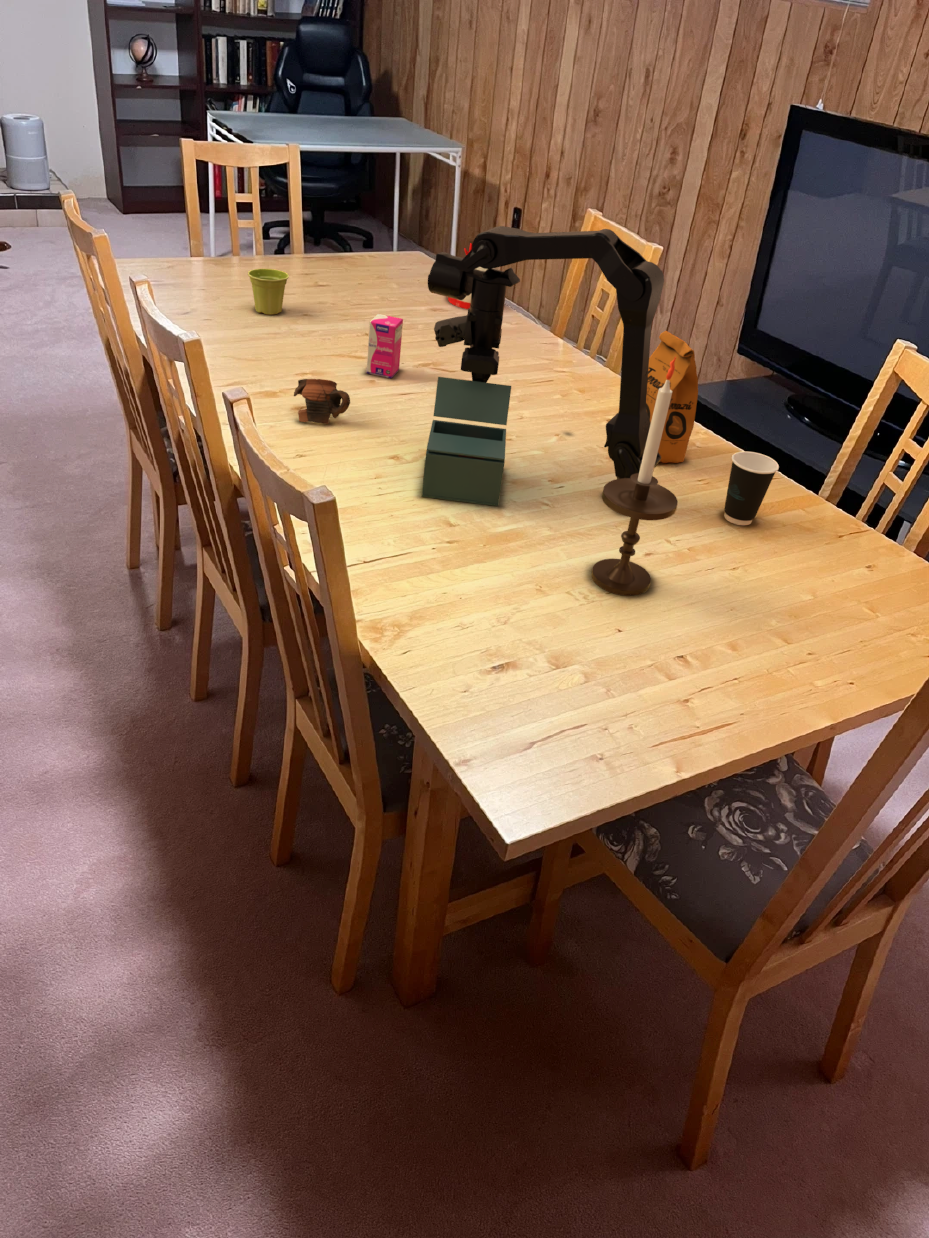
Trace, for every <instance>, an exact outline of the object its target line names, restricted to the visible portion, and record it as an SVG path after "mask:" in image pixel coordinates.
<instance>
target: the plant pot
mask: <svg viewBox="0 0 929 1238" xmlns="http://www.w3.org/2000/svg"><path fill="white" fill-rule="evenodd" d="M247 276H248V277H249V281H250V284H251V289H252V295H253V302H254V309H255V312H257V313H263V314H264V315H278V314H279V313H282V311H283V304H284V295H285V289H286V284H287V282H288V279H289V278H290V275H289V273H287V272H285V271H283V270H279V269H274V268H254V269H251V270H248V271H247Z"/></svg>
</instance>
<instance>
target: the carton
mask: <svg viewBox="0 0 929 1238" xmlns="http://www.w3.org/2000/svg"><path fill="white" fill-rule="evenodd" d="M506 439H507V428H502V427H495V426H494V427H493V426H487V425H486V426H485V425H480V424H479V425H478V424H469V423H461V422H455V421H446V420H439V419H432V422H431V427H430V431H429V436H428V440H427V445H426V451H425V458H424V467H423V477H422V478H423V480H422V487H421V489H422V490H421V497H422V498H431V499H438V500H446V501H453V502H463V503H469V504H478V505H485V506H494V507H499V503H500V498H501V497H500V496H501V490H502V483H503V476H504V469H505V462H506V445H507V441H506ZM459 455H463V456H471V457H479V458H484V459H476V458H468V457H460V456H459Z"/></svg>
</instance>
